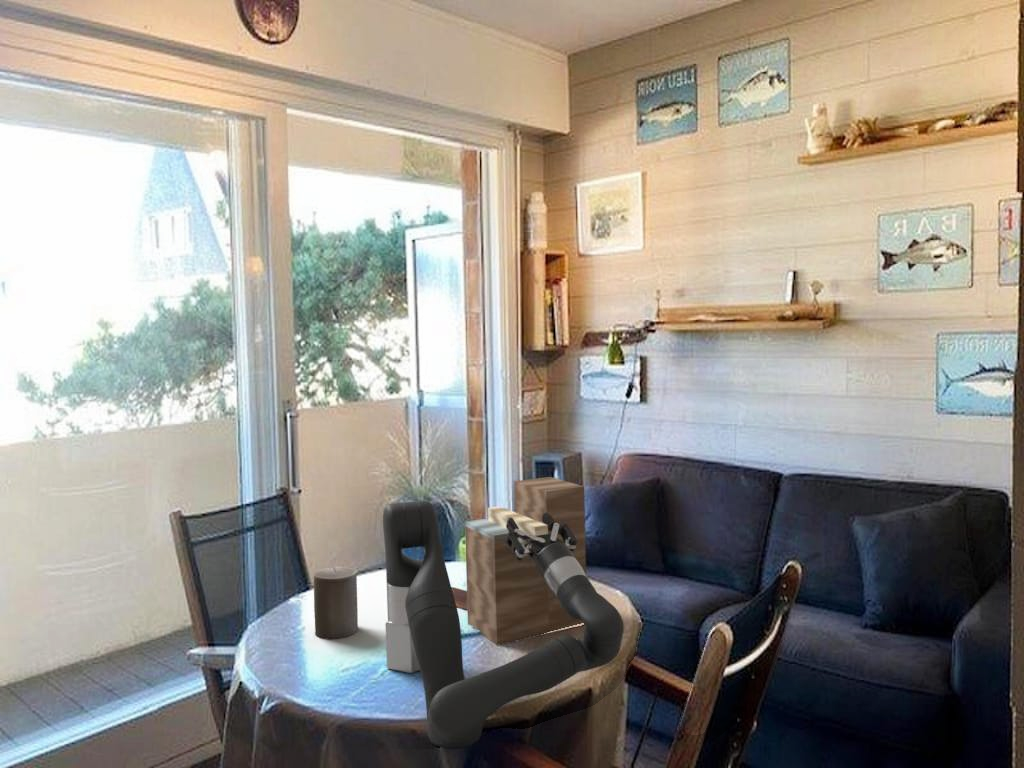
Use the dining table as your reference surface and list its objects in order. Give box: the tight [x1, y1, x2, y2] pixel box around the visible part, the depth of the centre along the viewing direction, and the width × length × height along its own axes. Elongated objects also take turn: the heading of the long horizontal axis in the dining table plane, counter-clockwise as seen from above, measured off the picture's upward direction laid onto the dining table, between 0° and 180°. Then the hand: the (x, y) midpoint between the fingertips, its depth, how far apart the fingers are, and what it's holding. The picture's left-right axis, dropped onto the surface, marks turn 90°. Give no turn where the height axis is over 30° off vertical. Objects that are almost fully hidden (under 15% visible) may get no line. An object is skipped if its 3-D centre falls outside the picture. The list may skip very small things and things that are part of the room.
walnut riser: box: [464, 476, 587, 646], centre depth 185 cm, size 15×23×32 cm, turn 118°
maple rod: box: [487, 505, 548, 536], centre depth 177 cm, size 22×3×3 cm, turn 28°
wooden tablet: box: [451, 586, 468, 612], centre depth 208 cm, size 26×2×10 cm
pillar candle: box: [313, 566, 359, 640], centre depth 184 cm, size 10×10×15 cm
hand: (526, 518), depth 173 cm, fingers open, 8 cm apart
